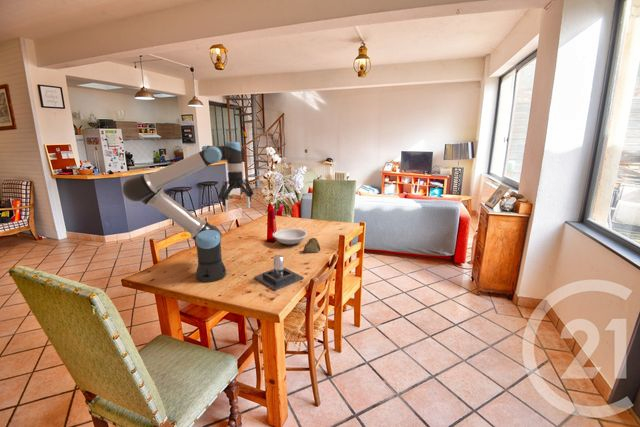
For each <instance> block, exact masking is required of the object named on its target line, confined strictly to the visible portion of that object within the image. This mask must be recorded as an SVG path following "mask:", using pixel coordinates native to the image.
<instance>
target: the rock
mask: <svg viewBox="0 0 640 427" xmlns="http://www.w3.org/2000/svg"><path fill="white" fill-rule="evenodd" d="M302 250H303V252H304V253H319V251H320V250H321V246H320V243H319V242H318V240H317V238H315V237H311V238H309V239H308V240H307V243H305V245H304V247H303V249H302ZM320 252H321V251H320Z"/></svg>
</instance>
